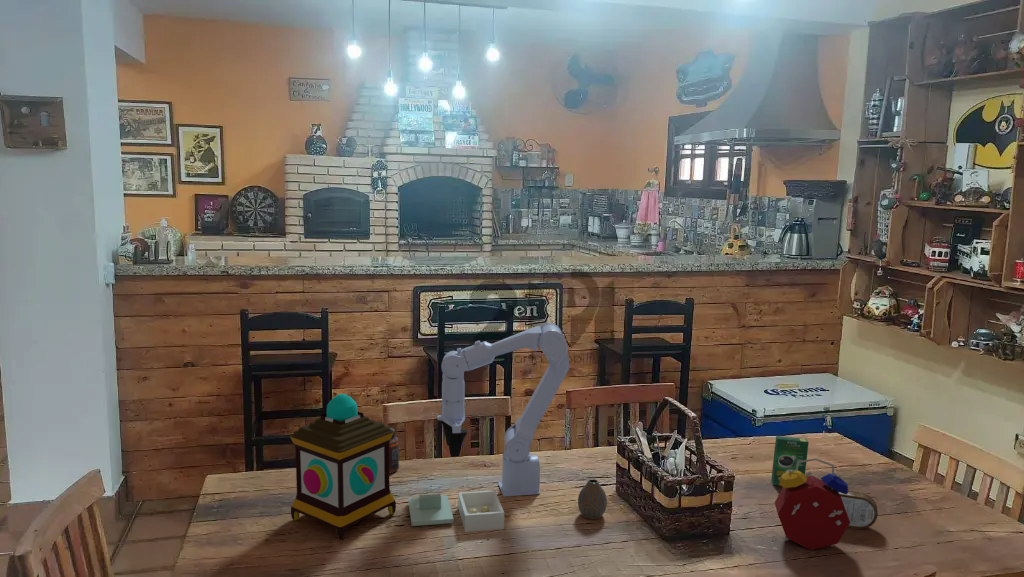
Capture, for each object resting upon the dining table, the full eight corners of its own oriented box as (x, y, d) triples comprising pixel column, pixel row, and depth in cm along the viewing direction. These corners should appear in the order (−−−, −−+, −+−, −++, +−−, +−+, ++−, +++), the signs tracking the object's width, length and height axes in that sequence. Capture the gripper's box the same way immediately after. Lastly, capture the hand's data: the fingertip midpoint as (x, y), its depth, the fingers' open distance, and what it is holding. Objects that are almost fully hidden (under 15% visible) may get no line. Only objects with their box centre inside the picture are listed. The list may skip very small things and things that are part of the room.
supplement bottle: (401, 466, 199) (401, 427, 198) (395, 474, 193) (395, 434, 192) (380, 464, 200) (379, 425, 198) (374, 473, 194) (373, 433, 192)
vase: (610, 512, 174) (611, 478, 173) (601, 524, 168) (602, 489, 166) (583, 506, 177) (584, 473, 175) (573, 518, 171) (574, 483, 169)
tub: (494, 505, 177) (495, 490, 176) (504, 528, 165) (504, 512, 164) (458, 508, 175) (458, 492, 174) (465, 532, 163) (465, 515, 163)
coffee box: (802, 484, 192) (806, 437, 190) (805, 488, 189) (809, 441, 187) (771, 481, 194) (774, 434, 192) (772, 485, 191) (776, 438, 189)
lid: (447, 501, 178) (447, 483, 178) (453, 525, 166) (453, 506, 166) (408, 503, 177) (408, 486, 176) (411, 528, 164) (411, 509, 164)
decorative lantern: (347, 491, 183) (345, 377, 178) (404, 513, 172) (403, 391, 167) (281, 521, 167) (277, 396, 162) (339, 547, 156) (337, 414, 151)
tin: (875, 527, 169) (878, 493, 168) (877, 533, 166) (880, 498, 165) (806, 516, 174) (809, 483, 173) (806, 522, 171) (809, 488, 170)
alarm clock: (841, 540, 162) (849, 456, 159) (849, 560, 154) (858, 471, 151) (771, 532, 166) (778, 449, 162) (776, 551, 157) (783, 464, 154)
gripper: (434, 391, 188) (434, 441, 190) (440, 409, 174) (440, 462, 176) (461, 390, 189) (461, 439, 191) (469, 407, 175) (468, 460, 177)
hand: (453, 450), depth 184 cm, fingers open, 7 cm apart
